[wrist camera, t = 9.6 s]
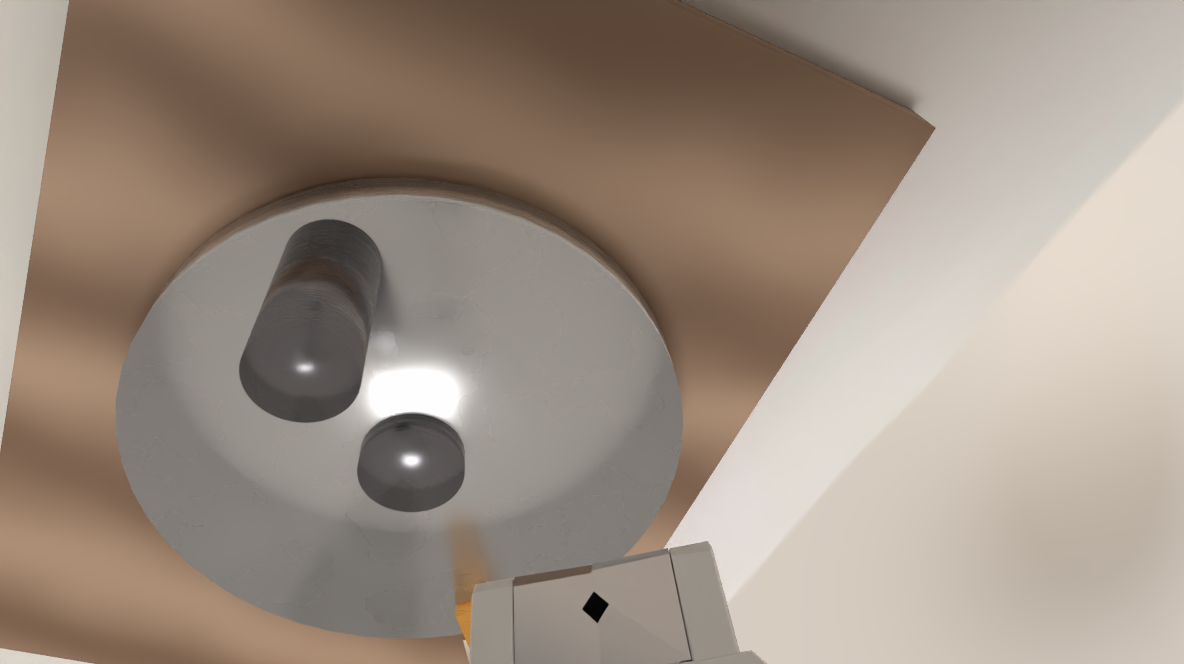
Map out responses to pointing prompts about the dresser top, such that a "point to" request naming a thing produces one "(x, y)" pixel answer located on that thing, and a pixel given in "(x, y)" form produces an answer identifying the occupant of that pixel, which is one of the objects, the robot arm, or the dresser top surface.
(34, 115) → the dresser top surface
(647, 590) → the robot arm
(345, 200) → the dial
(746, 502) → the dresser top surface
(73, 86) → the base board
